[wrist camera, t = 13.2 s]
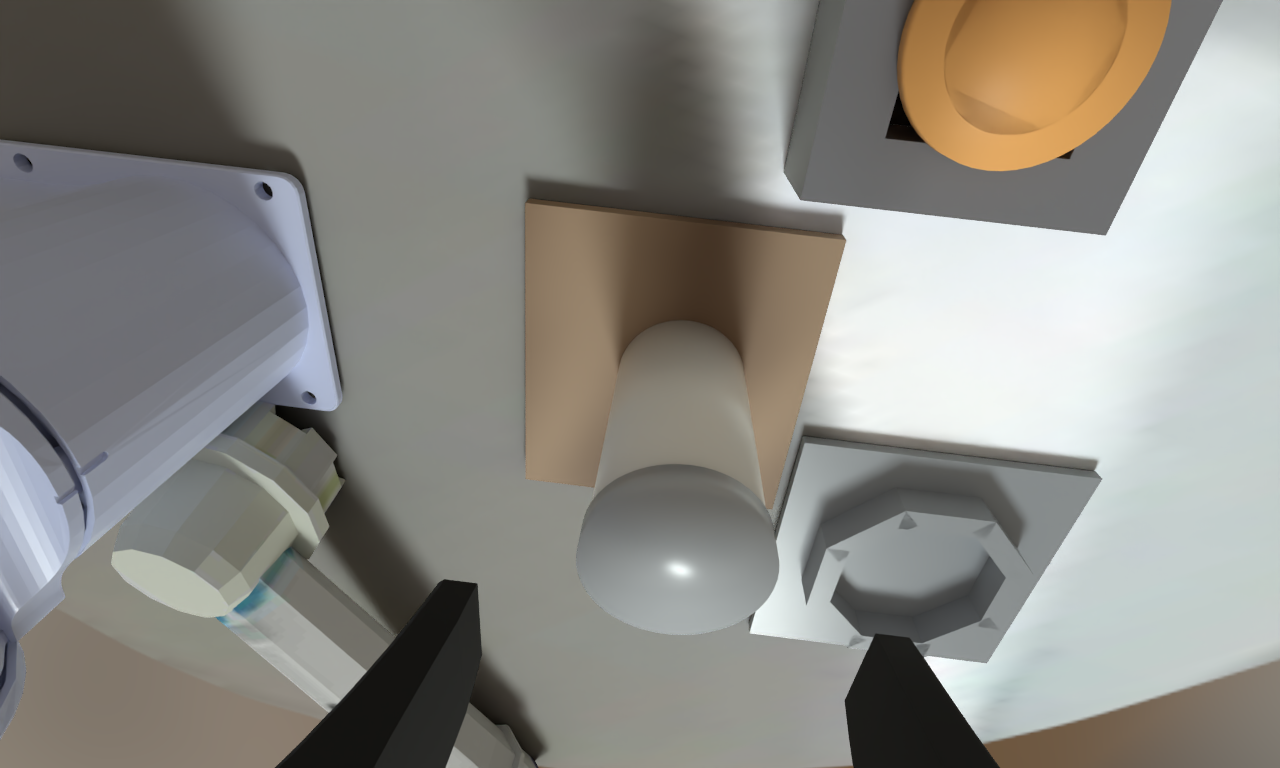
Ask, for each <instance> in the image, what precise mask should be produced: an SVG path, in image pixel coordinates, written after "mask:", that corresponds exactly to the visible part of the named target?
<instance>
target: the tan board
mask: <svg viewBox="0 0 1280 768" xmlns="http://www.w3.org/2000/svg"><path fill="white" fill-rule="evenodd" d="M845 243H846V239H845V238H844V236H843V235H839V234H831V233H822V232H813V231H805V230H796V229H788V228H779V227H770V226H762V225H753V224H745V223H736V222H727V221H719V220H710V219H701V218H693V217H684V216H676V215H667V214H658V213H650V212H641V211H633V210H624V209H615V208H607V207H598V206H590V205H581V204H572V203H564V202H555V201H546V200H538V199H528V200H527V202H526V203H525V360H526V479H529V480H538V481H546V482H554V483H562V484H570V485H578V486H586V487H594V488H595V483H596V478H597V473H598V469H599V464H600V459H601V454H602V449H603V444H604V439H605V434H606V429H607V424H608V419H609V414H610V410H611V405H612V400H613V395H614V390H615V385H616V380H617V375H618V370H619V365H620V361H621V358H622V356H623V354H624V352H625V350H626V348H627V347H628V345H629V344H630V343H631V341H632V340H633V339H634V338H635V337H636V336H638V335H639V334H640V333H641V332H643V331H645V330H646V329H648V328H650V327H652V326H654V325H657V324H660V323H663V322H668V321H676V320H686V321H694V322H699V323H702V324H705V325H708V326H710V327H712V328H714V329H716V330H717V331H719V332H721V333H722V334H723V335H724V336H726V337H727V338H728V339H729V340H730V341H731V342H732V344H733V345H734V346H735V348H736V349H737V351H738V353H739V355H740V357H741V360H742V363H743V369H744V375H745V381H746V388H747V394H748V400H749V406H750V413H751V419H752V425H753V431H754V438H755V444H756V450H757V456H758V463H759V469H760V475H761V481H762V488H763V494H764V500H765V506H766V509H772V508H773V504H774V501H775V497H776V493H777V490H778V486H779V482H780V479H781V475H782V471H783V468H784V464H785V461H786V457H787V453H788V450H789V446H790V442H791V439H792V435H793V432H794V428H795V424H796V421H797V417H798V413H799V410H800V406H801V403H802V399H803V395H804V392H805V388H806V384H807V381H808V377H809V374H810V370H811V366H812V363H813V359H814V355H815V352H816V348H817V345H818V341H819V337H820V334H821V330H822V326H823V323H824V319H825V316H826V312H827V308H828V305H829V301H830V297H831V294H832V290H833V287H834V283H835V279H836V276H837V272H838V268H839V265H840V261H841V257H842V254H843V250H844V247H845Z"/></svg>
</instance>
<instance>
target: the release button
mask: <svg viewBox="0 0 1280 768" xmlns="http://www.w3.org/2000/svg"><path fill="white" fill-rule="evenodd" d="M1170 8H1171V0H914V2H913V4H912V7H911V9H910V11H909V13H908V16H907V19H906V22H905V25H904V28H903V31H902V36H901V40H900V45H899V50H898V61H897V82H898V88H899V95H900V99H901V102H902V105H903V109H904V111H905V114H906V116H907V118H908V120H909V122H910V124H911V125H912V127H913V128H914V130H915V131H916V133H917V134H918V135H919V136H920V137H921V138H922V139H923V140H924V141H925V143H926V144H928V145H929V146H930V147H932V148H933V149H934V150H936V151H937V152H939V153H940V154H942V155H944V156H946V157H948V158H950V159H952V160H954V161H955V162H957V163H959V164H962V165H965V166H968V167H971V168H975V169H981V170H986V171H1010V170H1018V169H1023V168H1028V167H1033V166H1036V165H1039V164H1042V163H1045V162H1048V161H1050V160H1052V159H1055V158H1057V157H1059V156H1061V155H1064V154H1065V153H1067V152H1069V151H1071V150H1072V149H1074V148H1076V147H1078V146H1079V145H1081V144H1082V143H1084V142H1085V141H1086V140H1088V139H1089V138H1091V137H1092V136H1093V135H1095V134H1096V133H1097V132H1098V131H1099V130H1101V129H1102V128H1103V127H1104V126H1105V125H1106V124H1108V123H1109V122H1110V121H1111V120H1112V119H1113V118H1114V117H1115V116H1116V115H1117V114H1118V113H1119V112H1120V110H1121V109H1122V108H1123V107H1124V106H1125V105H1126V103H1127V102H1128V101H1129V100H1130V99H1131V97H1132V96H1133V95H1134V94H1135V92H1136V91H1137V89H1138V88H1139V86H1140V85H1141V83H1142V82H1143V80H1144V79H1145V77H1146V75H1147V74H1148V72H1149V70H1150V68H1151V66H1152V64H1153V62H1154V60H1155V58H1156V56H1157V54H1158V51H1159V49H1160V46H1161V44H1162V41H1163V38H1164V35H1165V31H1166V28H1167V24H1168V20H1169V14H1170Z"/></svg>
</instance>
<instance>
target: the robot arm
mask: <svg viewBox="0 0 1280 768" xmlns="http://www.w3.org/2000/svg"><path fill="white" fill-rule="evenodd" d="M27 158H28V159H29V160H30V161H31V163H32V165H30V163H29V162H28V160H27ZM263 182H264V183H266V184H268V185H269V186H270V187H271V189H272V192H273V197H272V196H269V195H268V194H267V193H266V192H265V191H264V189H263ZM308 392H311V393H312V394H314V395H315V397H316V398H313V397H312V396H310V395H309V393H308ZM258 400H259V401H263V402H267V403H271V404H274V405H281V406H289V407H297V408H305V409H314V410H322V411H332V410H334V409H336V408H337V407H338V406H339V405H340V403H341V402H342V391H341V385H340V380H339V375H338V369H337V364H336V358H335V353H334V348H333V342H332V337H331V331H330V326H329V321H328V315H327V310H326V304H325V299H324V294H323V288H322V283H321V277H320V272H319V267H318V261H317V256H316V250H315V245H314V240H313V234H312V229H311V223H310V218H309V212H308V207H307V202H306V196H305V192H304V189H303V186H302V184H301V183H300V182H299V181H298V179H297V178H295V177H294V176H292V175H291V174H288V173H284V172H276V171H267V170H259V169H250V168H242V167H233V166H224V165H216V164H207V163H199V162H190V161H181V160H173V159H164V158H155V157H147V156H138V155H130V154H121V153H112V152H104V151H95V150H87V149H78V148H69V147H61V146H52V145H44V144H35V143H26V142H18V141H9V140H1V139H0V739H1V738H2V736H3V734H4V732H5V731H6V729H7V727H8V726H9V724H10V722H11V721H12V719H13V717H14V715H15V713H16V710H17V707H18V705H19V702H20V699H21V697H22V694H23V689H24V683H25V677H26V665H25V658H24V652H23V650H22V648H21V646H20V644H19V642H18V641H19V640H20V639H21V638H22V637H23V636H24V635H25V634H26V633H27V632H29V631H30V630H31V629H32V628H33V627H34V626H35V625H36V624H37V623H38V622H39V621H40V620H42V618H44V617H45V616H46V615H47V614H48V613H49V612H50V611H51V610H52V609H54V608H55V607H56V606H57V605H58V604H59V603H60V602H61V601H62V600H63V599H65V594H64V591H63V588H62V585H61V578H62V574H63V572H64V570H65V569H66V568H67V567H68V565H69V564H70V563H71V562H72V561H73V560H74V559H76V558H77V557H78V556H80V555H81V554H82V553H83V552H84V551H86V550H87V549H88V548H89V547H90V546H91V545H93V544H94V543H95V542H96V541H97V540H98V539H99V538H101V537H102V536H103V535H104V534H105V533H106V532H107V531H109V530H110V529H111V528H112V527H113V526H114V525H115V524H117V523H118V522H119V521H120V520H121V519H122V518H124V517H125V516H126V515H127V514H128V513H129V512H130V511H132V510H133V509H134V508H135V507H136V506H137V505H138V504H140V503H141V502H142V501H143V500H144V499H145V498H147V497H148V496H149V495H150V494H151V493H152V492H153V491H155V490H156V489H157V488H158V487H159V486H160V485H161V484H163V483H164V482H165V481H166V480H167V479H168V478H169V477H171V476H172V475H173V474H174V473H175V472H176V471H178V470H179V469H180V468H181V467H182V466H183V465H184V464H186V463H187V462H188V461H189V460H190V459H191V458H192V457H194V456H195V455H196V454H197V453H198V452H199V451H200V450H202V449H203V448H204V447H205V446H206V445H207V444H209V443H210V442H211V441H212V440H213V439H214V438H215V437H217V436H218V435H219V434H220V433H221V432H222V431H223V430H225V429H226V428H227V427H228V426H229V425H230V424H232V423H233V422H234V421H235V420H236V419H237V418H238V417H240V416H241V415H242V414H243V413H244V412H245V411H246V410H248V409H249V408H250V407H251V406H252V405H253V404H254V403H256V402H257V401H258ZM481 656H482V650H481V634H480V618H479V601H478V585H477V583H469V582H461V581H453V580H445V579H444V580H443V581H441V582H439V583H438V584H437V586H436V587H435V588H434V590H433V591H432V592H431V594H430V595H429V596H428V598H427V599H426V600H425V602H424V603H423V604H422V606H421V607H420V608H419V609H418V611H417V612H416V613H415V615H414V616H413V617H412V618H411V620H410V621H409V622H408V623H407V625H406V626H405V627H404V628H403V630H402V631H401V632H400V633H399V634H398V636H397V637H396V638H395V639H394V640H393V642H392V643H391V644H390V645H389V647H388V648H387V649H386V650H385V651H384V652H383V654H382V655H381V656H380V657H379V658H378V659H377V660H376V662H375V663H374V664H373V665H372V666H371V667H370V668H369V670H368V671H367V672H366V673H365V674H364V675H363V676H362V678H361V679H360V680H359V681H358V682H357V683H356V684H355V686H354V687H353V688H352V689H351V690H350V691H349V692H348V693H347V694H346V695H345V697H344V698H343V699H342V700H341V701H340V702H339V703H338V704H337V705H336V706H335V707H334V708H333V709H332V710H331V711H330V712H329V713H328V714H327V716H326V717H325V718H324V719H323V720H322V721H321V722H320V723H319V724H318V725H317V726H316V727H315V728H314V729H313V730H312V731H311V733H309V734H308V736H307V737H306V738H305V739H304V740H303V741H302V742H301V743H300V744H299V745H298V746H297V747H296V748H295V749H294V750H293V751H292V752H291V753H290V754H289V755H287V756H286V758H285V759H284V760H282V762H280V763H279V764H278V765H277V766H276V767H275V768H446V765H447V763H448V760H449V757H450V755H451V752H452V749H453V747H454V744H455V741H456V739H457V736H458V734H459V731H460V728H461V726H462V723H463V720H464V717H465V715H466V712H467V708H468V704H469V701H470V697H471V694H472V690H473V686H474V682H475V679H476V675H477V671H478V667H479V663H480V660H481ZM845 707H846V716H847V724H848V733H849V740H850V748H851V755H852V762H853V767H854V768H1000V767H999V766H998V764H997V763H996V762H995V760H994V759H993V757H992V756H991V755H990V753H989V752H988V751H987V749H986V748H985V746H984V745H983V744H982V742H981V741H980V739H979V738H978V737H977V735H976V734H975V732H974V731H973V730H972V728H971V727H970V725H969V724H968V722H967V721H966V719H965V718H964V717H963V715H962V714H961V712H960V711H959V709H958V708H957V706H956V705H955V703H954V702H953V701H952V699H951V698H950V696H949V695H948V693H947V692H946V690H945V689H944V687H943V686H942V684H941V683H940V681H939V680H938V678H937V677H936V675H935V674H934V672H933V671H932V669H931V668H930V666H929V665H928V663H927V662H926V660H925V659H924V657H923V656H922V655H921V653H920V652H919V650H918V649H917V647H916V646H915V644H914V643H913V641H912V640H911V639H910V638H909V637H901V636H893V635H885V634H877V633H875V635H874V637H873V640H872V642H871V644H870V646H869V648H868V651H867V653H866V655H865V657H864V659H863V662H862V664H861V666H860V668H859V670H858V673H857V675H856V677H855V679H854V681H853V684H852V686H851V688H850V690H849V692H848V694H847V697H846V699H845Z"/></svg>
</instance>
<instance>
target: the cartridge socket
mask: <svg viewBox="0 0 1280 768" xmlns="http://www.w3.org/2000/svg"><path fill="white" fill-rule="evenodd" d="M1101 480H1102V478H1101V477H1100V476H1099V475H1098V474H1097V473H1096V472H1095V471H1087V470H1079V469H1071V468H1063V467H1054V466H1046V465H1038V464H1030V463H1021V462H1013V461H1005V460H997V459H988V458H980V457H972V456H964V455H955V454H947V453H939V452H931V451H923V450H914V449H906V448H898V447H890V446H881V445H873V444H865V443H857V442H848V441H840V440H832V439H824V438H815V437H807V436H803V437H802V441H801V444H800V448H799V451H798V455H797V458H796V462H795V465H794V469H793V472H792V476H791V479H790V483H789V486H788V490H787V493H786V497H785V500H784V504H783V507H782V511H781V514H780V518H779V521H778V525H777V528H776V532H775V538H776V544H777V550H778V556H779V575H778V580H777V583H776V585H775V588H774V590H773V592H772V593H771V595H770V596H769V598H768V599H767V600H766V602H765V603H764V604H763V605H762V606H761V607H760V608H759V609H758V610H757V611H755V612H754V613H753V614H752V615H751V619H750V622H749V633H752V634H760V635H768V636H776V637H784V638H791V639H799V640H807V641H815V642H823V643H831V644H839V645H845V646H846V647H847V648H853V649H861V650H868V648H869V646H870V644H871V642H872V640H873V637H874V635H875V633H877V634H885V635H893V636H901V637H909V638H910V639H911V640H912V641H913V643H914V644H915V646H916V647H917V649H918V650H919V652H920V653H921V655H922V656H923V657H926V656H934V657H942V658H949V659H957V660H965V661H973V662H981V663H987V662H988V661H989V659H990V657H991V656H992V654H993V653H994V651H995V649H996V648H997V646H998V645H999V643H1000V641H1001V640H1002V638H1003V637H1004V635H1005V633H1006V632H1007V630H1008V629H1009V627H1010V625H1011V624H1012V622H1013V621H1014V619H1015V617H1016V616H1017V614H1018V613H1019V611H1020V609H1021V608H1022V606H1023V605H1024V603H1025V601H1026V600H1027V598H1028V597H1029V595H1030V594H1031V592H1032V590H1033V589H1034V587H1035V586H1036V584H1037V582H1038V581H1039V579H1040V578H1041V576H1042V574H1043V573H1044V571H1045V570H1046V568H1047V566H1048V565H1049V563H1050V562H1051V560H1052V558H1053V557H1054V555H1055V554H1056V552H1057V550H1058V549H1059V547H1060V546H1061V544H1062V542H1063V541H1064V539H1065V538H1066V536H1067V534H1068V533H1069V531H1070V530H1071V528H1072V526H1073V525H1074V523H1075V522H1076V520H1077V518H1078V517H1079V515H1080V514H1081V512H1082V511H1083V509H1084V507H1085V506H1086V504H1087V503H1088V501H1089V499H1090V498H1091V496H1092V495H1093V493H1094V491H1095V490H1096V488H1097V487H1098V485H1099V483H1100V482H1101Z"/></svg>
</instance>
